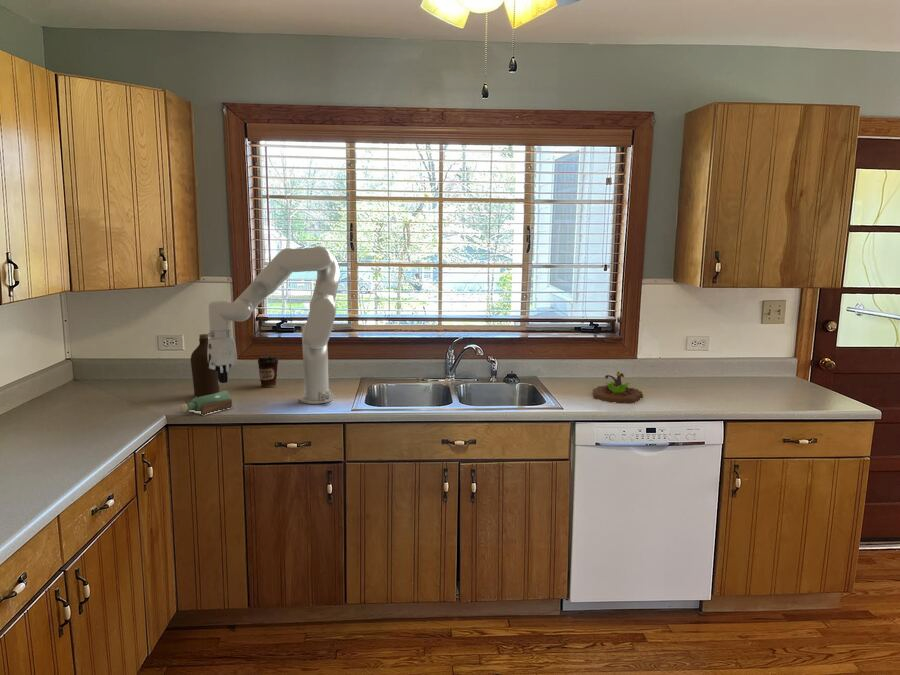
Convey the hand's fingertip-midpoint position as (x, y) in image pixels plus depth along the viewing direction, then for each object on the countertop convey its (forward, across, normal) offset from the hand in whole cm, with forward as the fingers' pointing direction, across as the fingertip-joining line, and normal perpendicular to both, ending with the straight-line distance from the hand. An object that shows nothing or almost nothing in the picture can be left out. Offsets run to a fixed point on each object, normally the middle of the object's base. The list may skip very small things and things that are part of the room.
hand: (223, 382), depth 242 cm
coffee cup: (+9, +29, +10) cm, 32 cm away
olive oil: (+9, +4, +17) cm, 20 cm away
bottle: (+6, +1, 0) cm, 6 cm away
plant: (+9, +103, -115) cm, 155 cm away
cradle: (+9, -7, 0) cm, 11 cm away
